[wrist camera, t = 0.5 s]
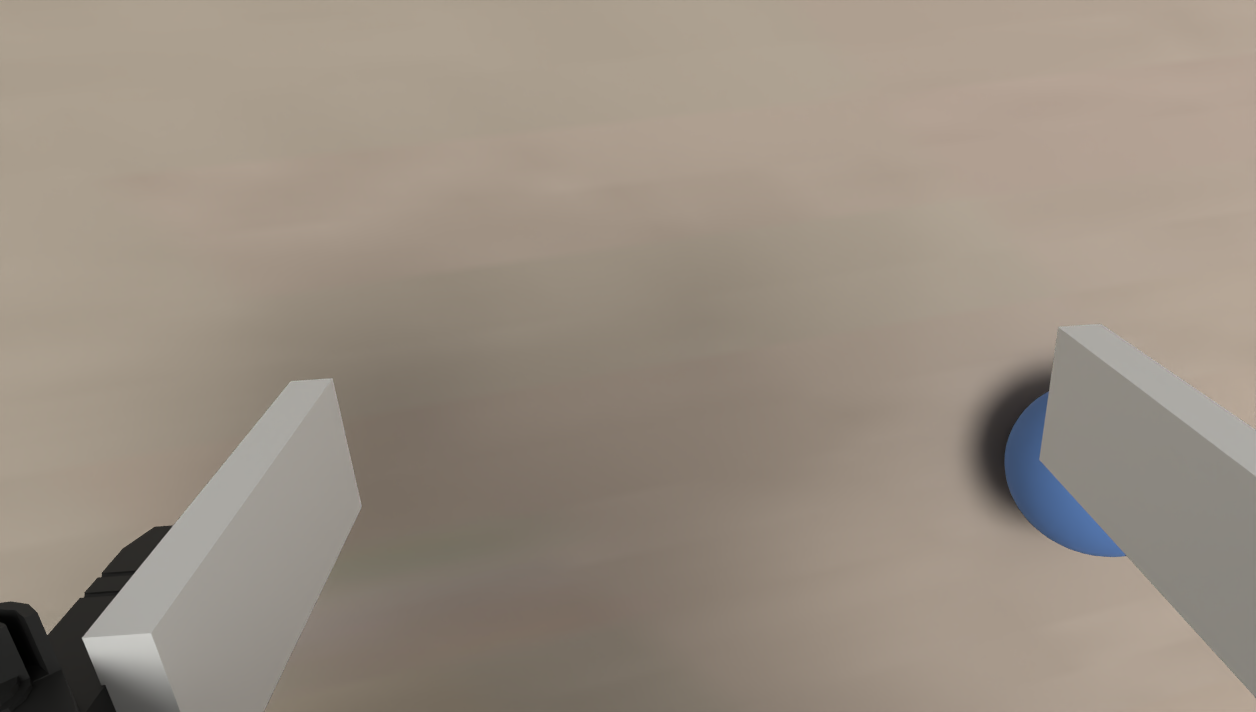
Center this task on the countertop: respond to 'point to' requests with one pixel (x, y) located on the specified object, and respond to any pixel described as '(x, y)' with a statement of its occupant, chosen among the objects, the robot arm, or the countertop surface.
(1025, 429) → the ball
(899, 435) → the countertop surface
